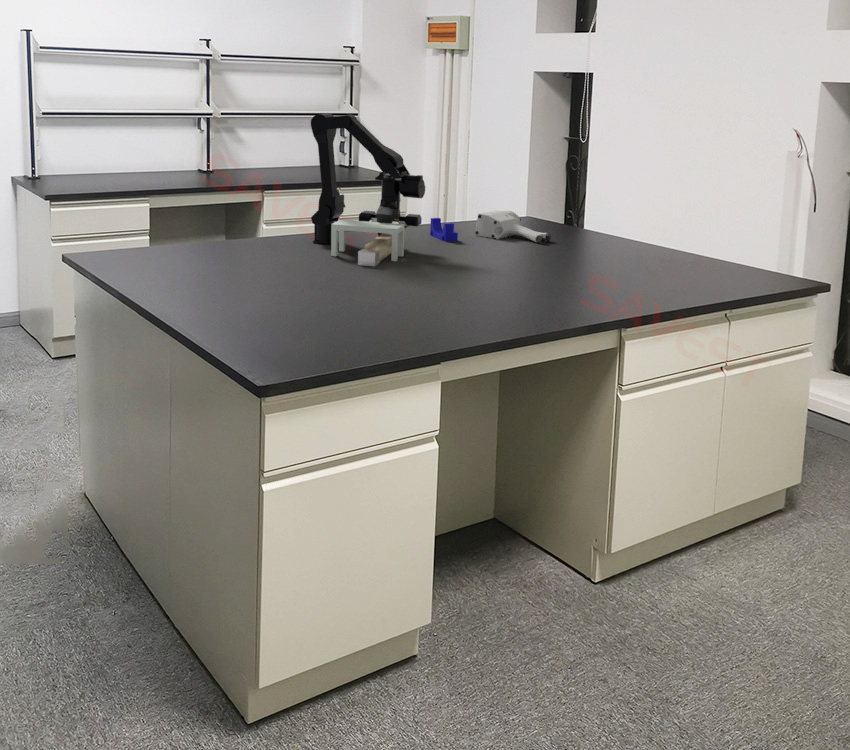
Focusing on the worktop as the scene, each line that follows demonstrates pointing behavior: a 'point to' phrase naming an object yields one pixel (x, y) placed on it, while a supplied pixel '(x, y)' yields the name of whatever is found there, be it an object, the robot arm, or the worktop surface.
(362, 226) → the small white table
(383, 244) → the batten
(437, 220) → the cable clip
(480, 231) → the impact wrench
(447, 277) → the worktop surface
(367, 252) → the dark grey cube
